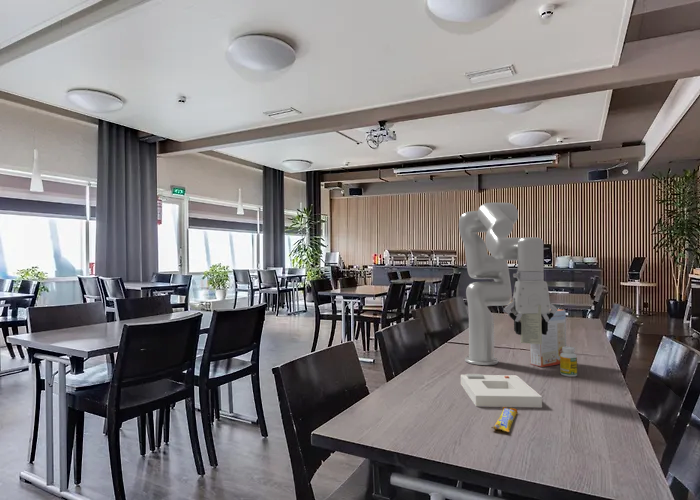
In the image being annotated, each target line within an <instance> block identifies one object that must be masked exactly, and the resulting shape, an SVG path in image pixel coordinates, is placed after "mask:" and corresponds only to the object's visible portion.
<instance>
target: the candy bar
mask: <svg viewBox="0 0 700 500" xmlns="http://www.w3.org/2000/svg"><path fill="white" fill-rule="evenodd" d="M517 415H518V408H517V409H516V408H514V407H509V408H507V407H502V412H501V414H500V416H499V418H498V419H497V421H496V423H495V424H494V426H492V427H490V428H491V429H493V430H494V431H501V430H502V431H501V432H505V433H510V430H511V427H512V424H513V422H514V421H515V418H516V416H517ZM513 420H514V421H513Z"/></svg>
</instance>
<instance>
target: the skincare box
mask: <svg viewBox="0 0 700 500" xmlns="http://www.w3.org/2000/svg"><path fill="white" fill-rule="evenodd" d="M537 306H538V313H537V314H523V315H522V316H521V318H520V322H521V335H520V344H526V345H527V344H529V345H530V344H542V324H541V305H537Z"/></svg>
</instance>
